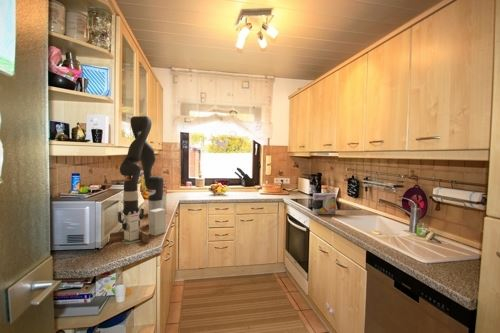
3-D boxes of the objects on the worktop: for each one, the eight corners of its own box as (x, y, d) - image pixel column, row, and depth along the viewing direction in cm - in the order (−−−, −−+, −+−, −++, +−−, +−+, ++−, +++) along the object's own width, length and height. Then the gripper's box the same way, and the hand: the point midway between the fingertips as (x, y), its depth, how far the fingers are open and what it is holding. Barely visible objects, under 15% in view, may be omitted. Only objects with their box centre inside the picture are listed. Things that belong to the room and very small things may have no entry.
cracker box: (166, 214, 211) (166, 188, 210) (161, 215, 206) (161, 189, 205) (153, 212, 217) (153, 187, 216) (148, 213, 212) (147, 188, 211)
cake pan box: (313, 215, 215) (313, 193, 214) (311, 213, 220) (311, 192, 219) (335, 215, 217) (336, 193, 216) (333, 213, 222) (334, 192, 221)
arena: (107, 242, 144) (107, 233, 143) (137, 236, 155) (137, 228, 155) (117, 250, 132) (117, 240, 132) (149, 243, 144) (148, 234, 143)
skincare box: (159, 231, 166) (159, 207, 165) (166, 232, 163) (166, 209, 162) (148, 234, 159) (148, 210, 158) (155, 236, 156) (155, 211, 155)
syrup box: (139, 238, 148) (139, 213, 147) (129, 241, 143) (129, 215, 142) (132, 236, 151) (132, 211, 150) (123, 239, 146) (123, 213, 145)
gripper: (141, 196, 153) (141, 224, 154) (114, 199, 143) (115, 229, 144) (146, 198, 148) (146, 227, 149) (119, 201, 138) (119, 232, 139)
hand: (131, 228), depth 147 cm, fingers closed on syrup box, 6 cm apart
